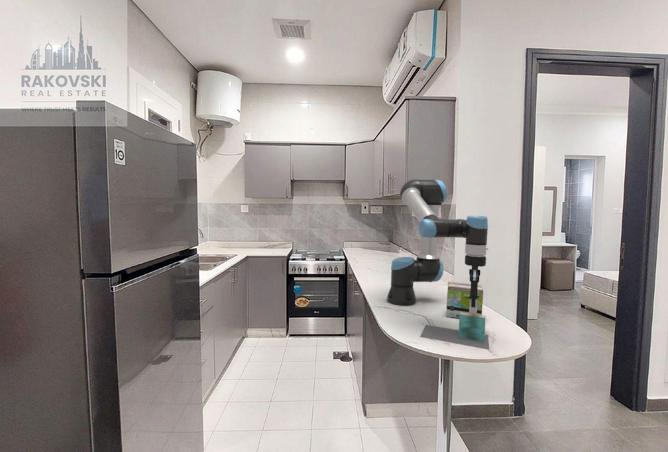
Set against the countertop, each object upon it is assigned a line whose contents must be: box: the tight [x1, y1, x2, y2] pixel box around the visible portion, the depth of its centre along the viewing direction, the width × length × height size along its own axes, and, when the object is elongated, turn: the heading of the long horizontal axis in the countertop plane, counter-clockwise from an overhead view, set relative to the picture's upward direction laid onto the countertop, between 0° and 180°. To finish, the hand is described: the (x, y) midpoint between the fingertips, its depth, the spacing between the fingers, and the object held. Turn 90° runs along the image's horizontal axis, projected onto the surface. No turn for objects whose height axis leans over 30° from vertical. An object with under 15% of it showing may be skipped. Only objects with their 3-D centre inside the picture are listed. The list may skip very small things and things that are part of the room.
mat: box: [419, 324, 490, 350], centre depth 124 cm, size 24×14×1 cm, turn 65°
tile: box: [458, 312, 486, 341], centre depth 122 cm, size 9×3×9 cm, turn 66°
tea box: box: [445, 281, 484, 319], centre depth 148 cm, size 15×10×15 cm
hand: (472, 314), depth 125 cm, fingers closed
